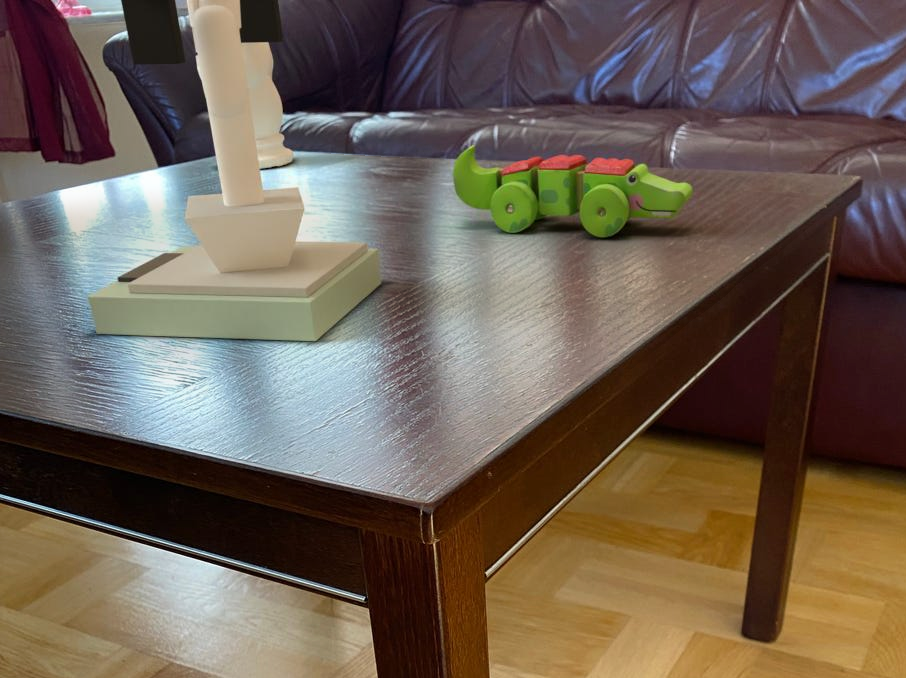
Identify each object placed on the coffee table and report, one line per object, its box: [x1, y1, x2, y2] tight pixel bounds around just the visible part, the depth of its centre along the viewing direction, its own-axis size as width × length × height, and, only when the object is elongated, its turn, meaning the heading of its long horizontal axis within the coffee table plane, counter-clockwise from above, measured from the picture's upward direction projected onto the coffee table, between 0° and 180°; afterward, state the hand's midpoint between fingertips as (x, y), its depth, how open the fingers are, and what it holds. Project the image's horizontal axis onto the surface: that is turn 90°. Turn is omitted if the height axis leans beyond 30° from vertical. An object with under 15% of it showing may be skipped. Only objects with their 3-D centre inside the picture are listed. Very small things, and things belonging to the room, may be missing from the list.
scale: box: [87, 241, 382, 342], centre depth 68 cm, size 15×13×3 cm
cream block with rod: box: [183, 0, 306, 273], centre depth 63 cm, size 7×9×15 cm
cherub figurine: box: [196, 42, 294, 170], centre depth 111 cm, size 12×12×22 cm
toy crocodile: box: [452, 144, 694, 238], centre depth 83 cm, size 20×7×6 cm, turn 66°
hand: (215, 52), depth 60 cm, fingers open, 13 cm apart
